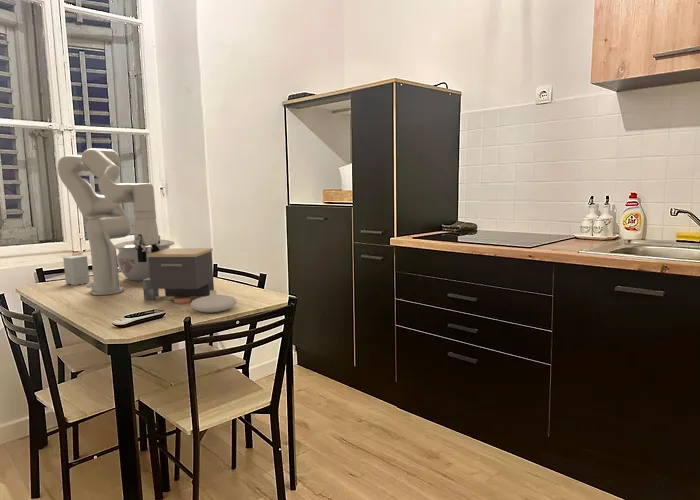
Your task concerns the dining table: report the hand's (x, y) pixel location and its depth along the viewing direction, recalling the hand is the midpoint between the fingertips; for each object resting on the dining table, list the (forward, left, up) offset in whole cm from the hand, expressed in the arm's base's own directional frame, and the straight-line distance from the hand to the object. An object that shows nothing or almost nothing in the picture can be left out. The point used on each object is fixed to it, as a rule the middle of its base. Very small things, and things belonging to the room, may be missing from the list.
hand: (149, 260), depth 193 cm
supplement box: (-52, +28, -16) cm, 62 cm away
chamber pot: (-26, +41, -16) cm, 51 cm away
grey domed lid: (+32, -15, -16) cm, 38 cm away
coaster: (+15, -4, -16) cm, 22 cm away
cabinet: (+14, -1, -16) cm, 21 cm away
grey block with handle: (+9, 0, -15) cm, 18 cm away
